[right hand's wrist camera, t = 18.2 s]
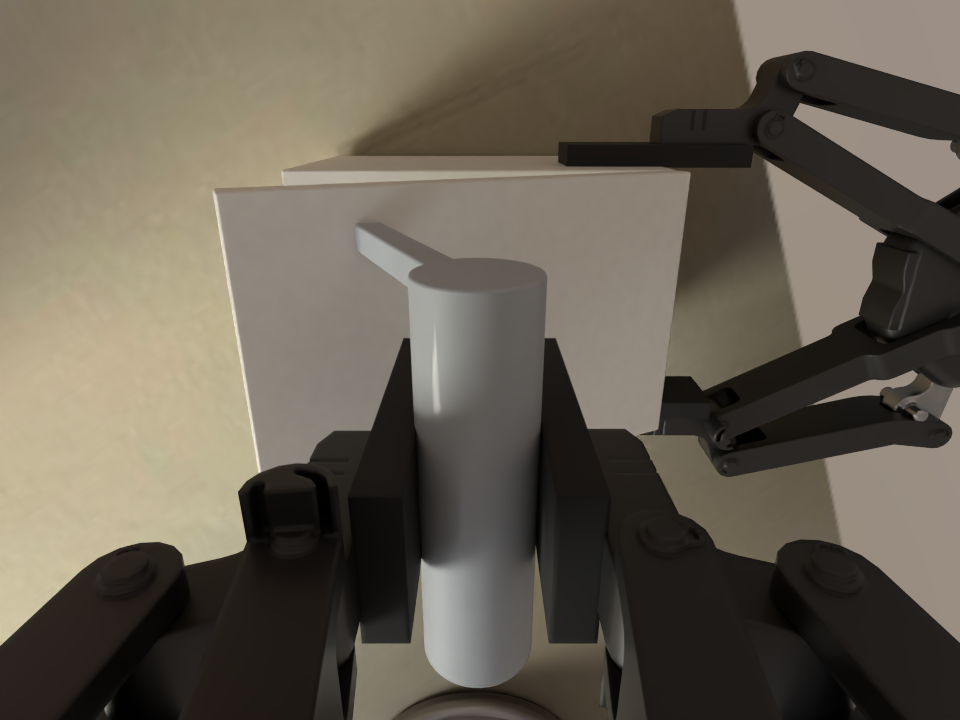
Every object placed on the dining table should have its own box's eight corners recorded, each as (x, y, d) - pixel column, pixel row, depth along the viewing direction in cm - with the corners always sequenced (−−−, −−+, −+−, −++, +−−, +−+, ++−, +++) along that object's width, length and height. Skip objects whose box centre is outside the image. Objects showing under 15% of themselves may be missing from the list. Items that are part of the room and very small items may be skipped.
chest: (353, 341, 31) (310, 421, 23) (337, 155, 28) (280, 170, 19) (600, 340, 31) (647, 418, 23) (615, 155, 28) (677, 170, 20)
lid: (265, 514, 17) (325, 790, 10) (212, 188, 14) (245, 258, 7) (643, 419, 23) (854, 555, 16) (672, 170, 19) (959, 197, 12)
